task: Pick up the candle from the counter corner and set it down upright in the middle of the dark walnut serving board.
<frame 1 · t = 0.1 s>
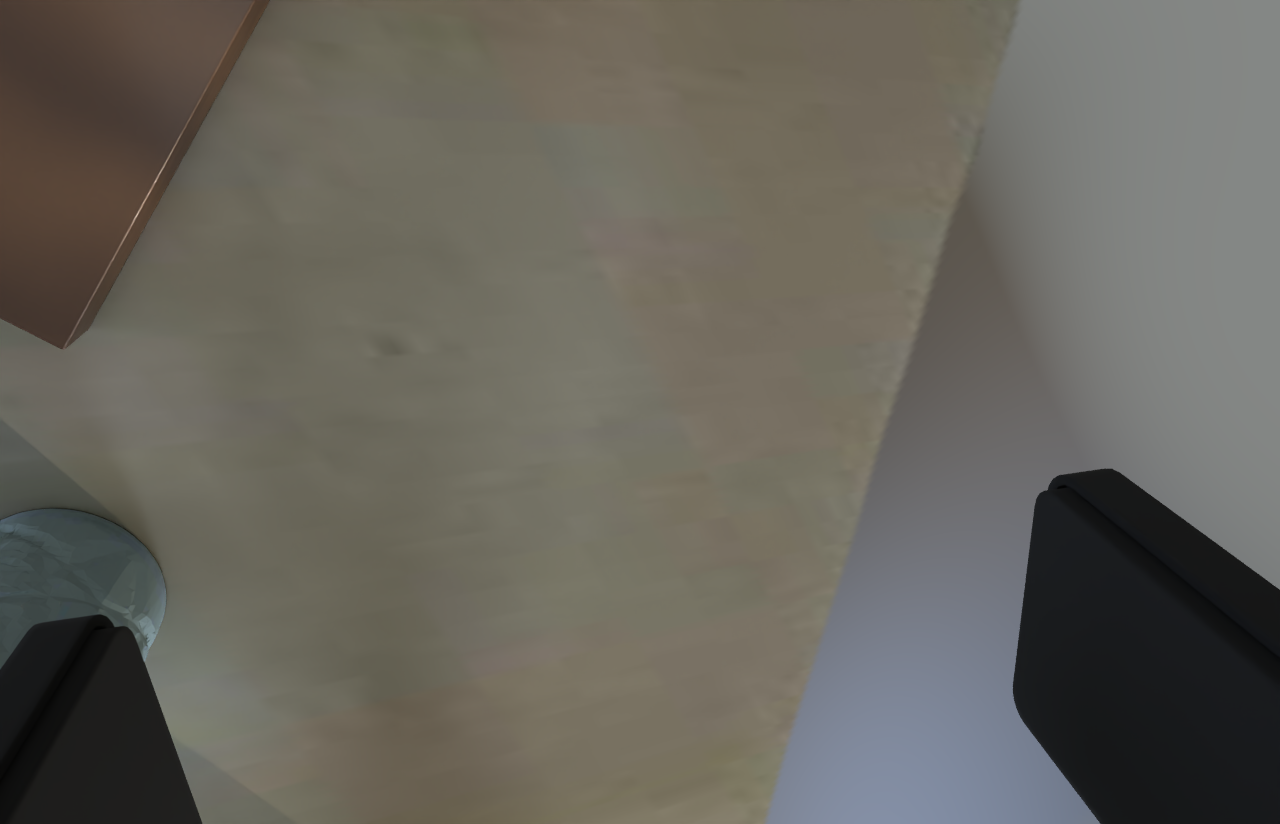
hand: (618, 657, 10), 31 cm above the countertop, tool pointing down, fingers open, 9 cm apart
embossed blue pot: (62, 585, 42), on the countertop
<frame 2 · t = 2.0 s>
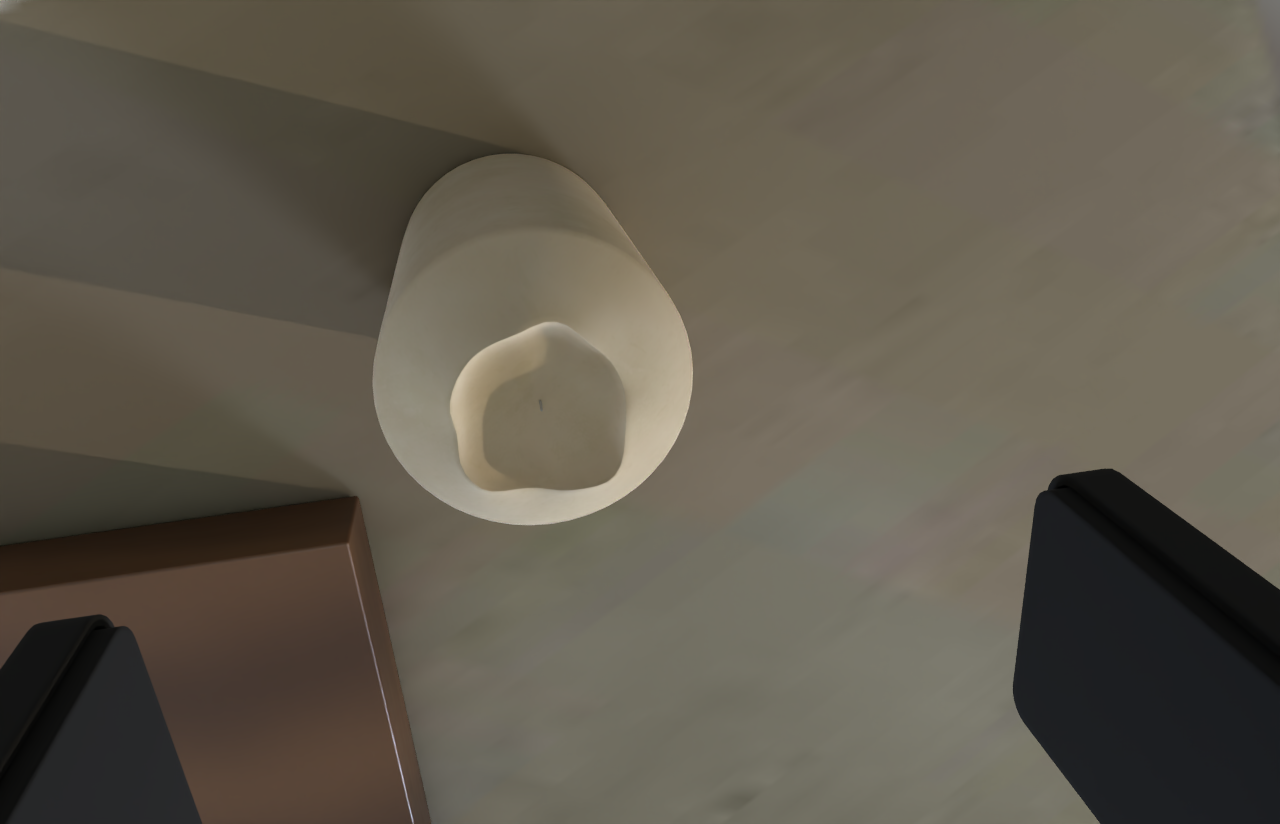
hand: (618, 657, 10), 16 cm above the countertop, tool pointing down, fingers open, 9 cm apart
serving board: (156, 813, 29), on the countertop
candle: (512, 259, 24), on the countertop
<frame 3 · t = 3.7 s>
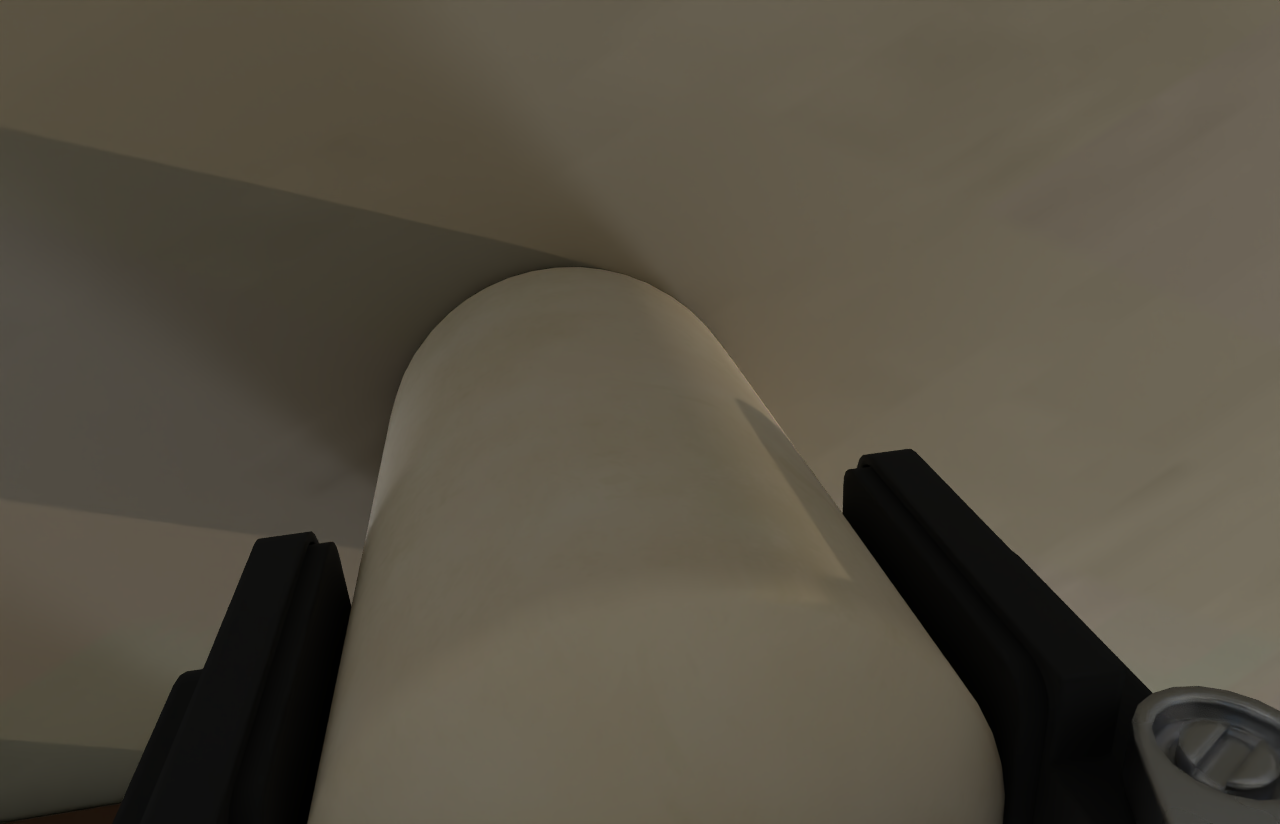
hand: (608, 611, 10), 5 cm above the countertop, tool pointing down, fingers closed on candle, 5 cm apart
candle: (568, 425, 15), on the countertop, touching gripper
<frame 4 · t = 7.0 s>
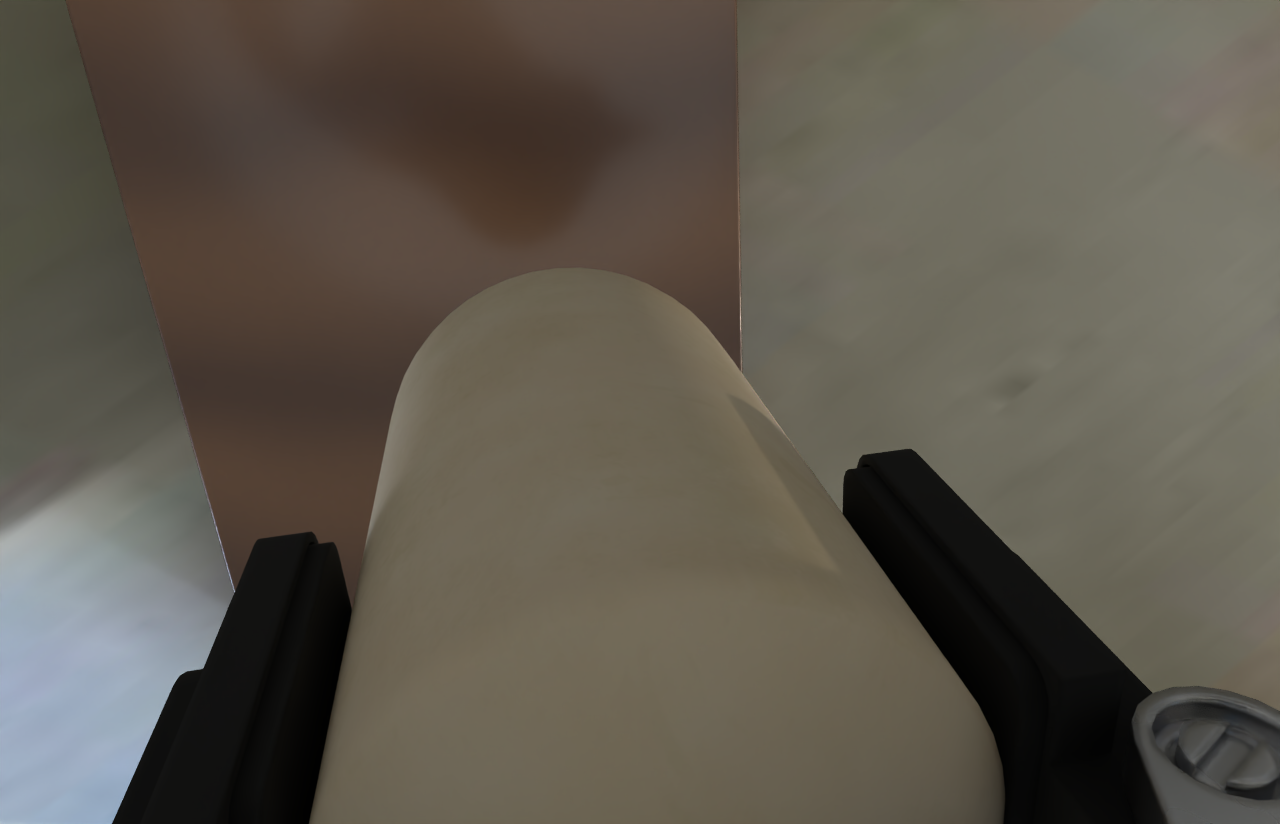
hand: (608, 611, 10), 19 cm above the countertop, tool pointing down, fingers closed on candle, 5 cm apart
serving board: (469, 330, 29), on the countertop
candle: (568, 425, 15), point 14 cm above the countertop, touching gripper
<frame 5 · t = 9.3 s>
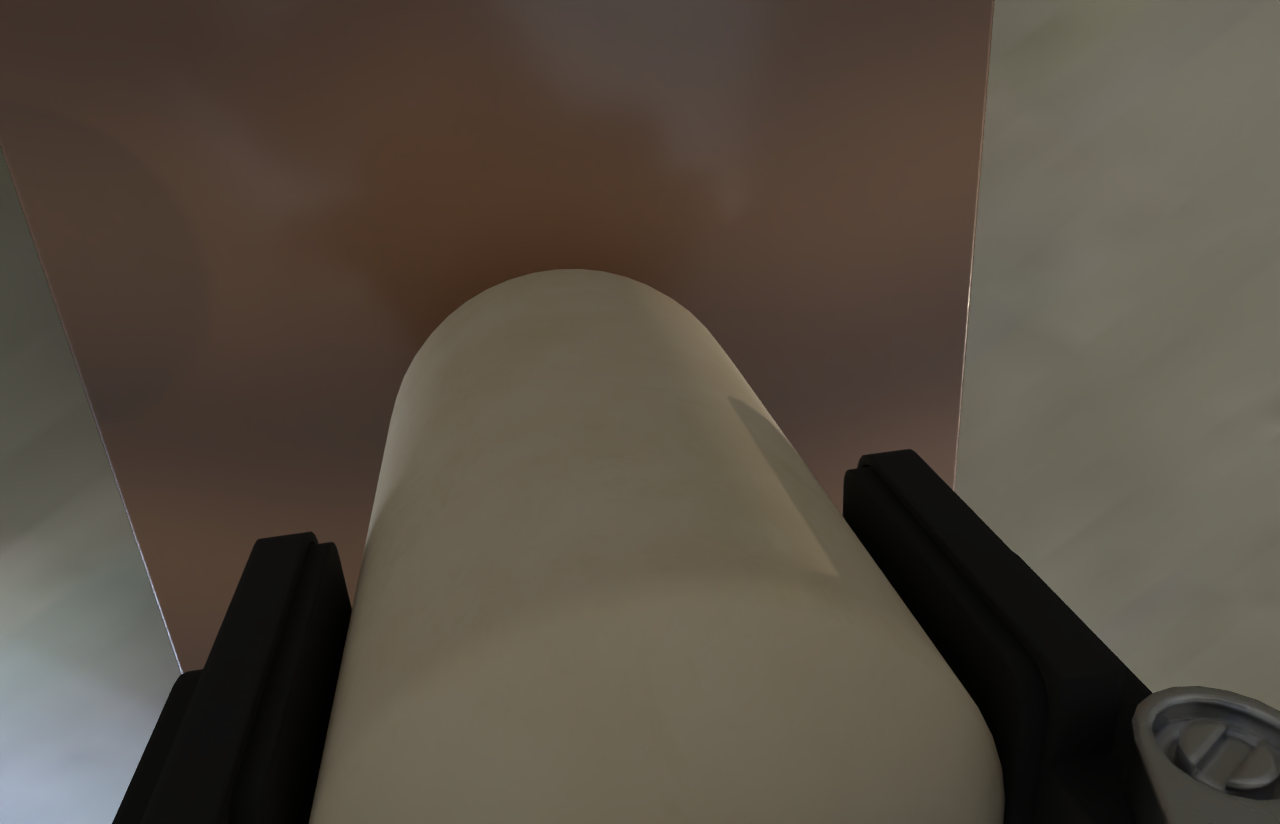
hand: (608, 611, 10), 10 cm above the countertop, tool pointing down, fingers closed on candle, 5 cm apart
serving board: (547, 331, 19), on the countertop
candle: (568, 426, 15), point 5 cm above the countertop, touching gripper
when the fingers open (7 cm above the countertop, at t = 10.5 s): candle stays where it is, resting on serving board.
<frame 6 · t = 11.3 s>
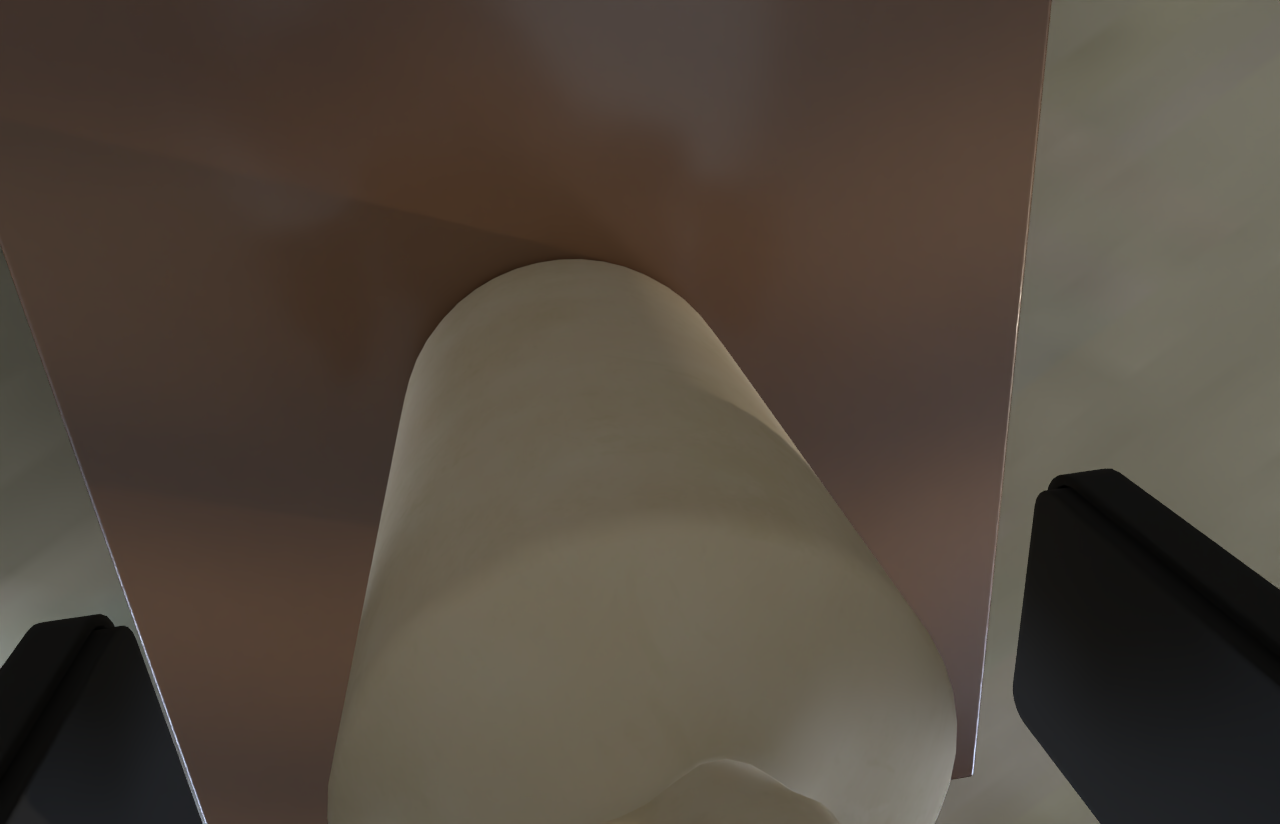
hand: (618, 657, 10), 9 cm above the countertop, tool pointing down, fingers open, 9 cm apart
serving board: (563, 363, 18), on the countertop
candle: (570, 409, 16), point 2 cm above the countertop, touching serving board
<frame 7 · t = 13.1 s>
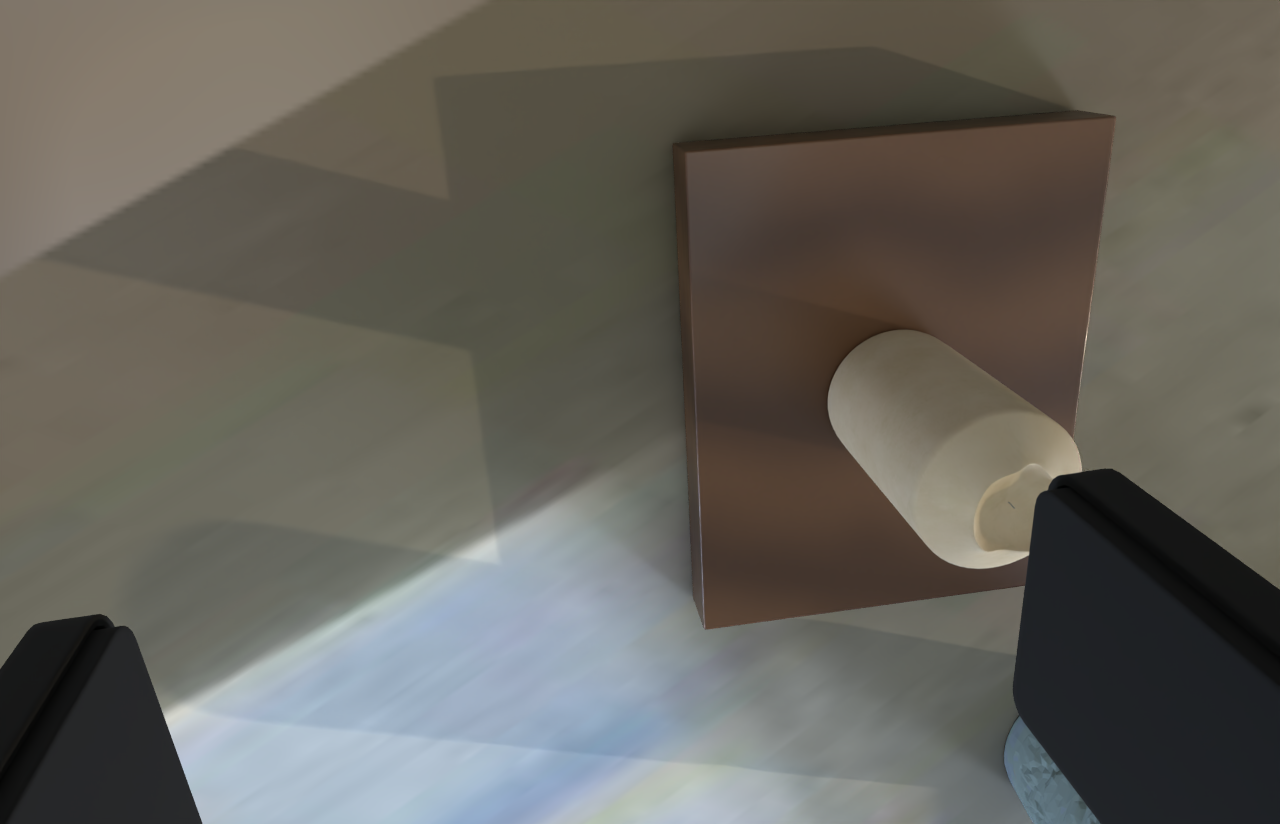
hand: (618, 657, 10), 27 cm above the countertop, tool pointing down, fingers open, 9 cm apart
embossed blue pot: (1072, 737, 49), on the countertop
serving board: (870, 372, 39), on the countertop
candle: (890, 392, 37), point 2 cm above the countertop, touching serving board
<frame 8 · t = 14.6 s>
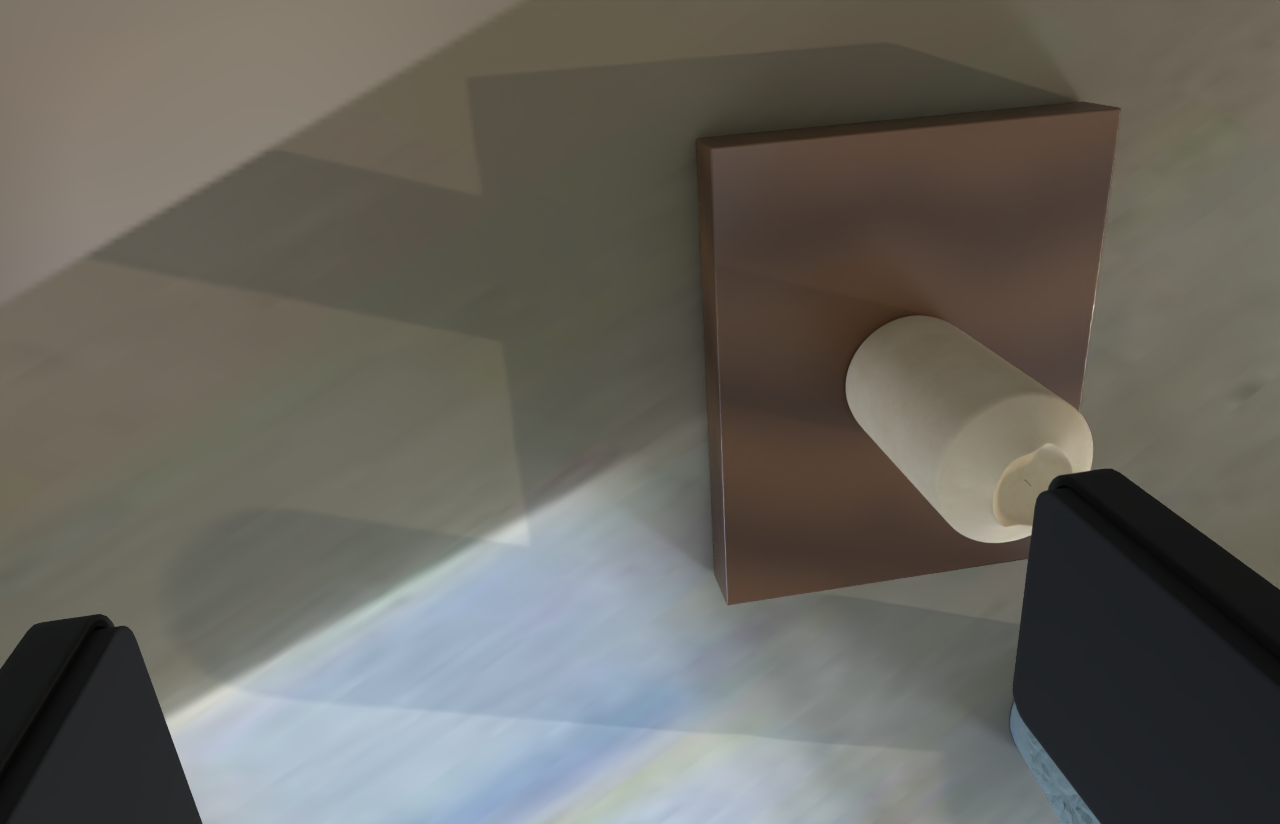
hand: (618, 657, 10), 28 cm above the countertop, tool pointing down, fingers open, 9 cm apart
embossed blue pot: (1075, 702, 51), on the countertop
serving board: (884, 356, 41), on the countertop
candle: (905, 375, 39), point 2 cm above the countertop, touching serving board
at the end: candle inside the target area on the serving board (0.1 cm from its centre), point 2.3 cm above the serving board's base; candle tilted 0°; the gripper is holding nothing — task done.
